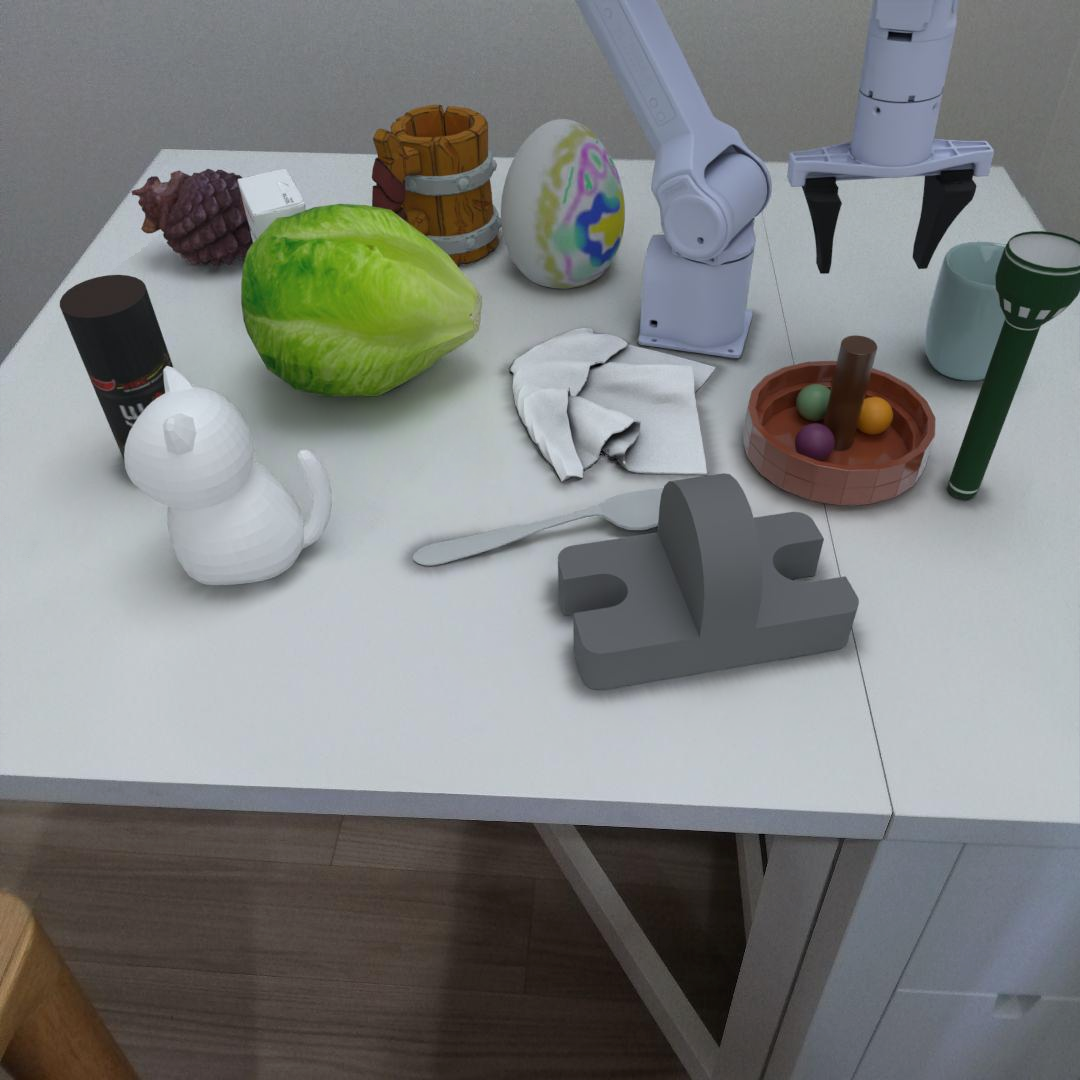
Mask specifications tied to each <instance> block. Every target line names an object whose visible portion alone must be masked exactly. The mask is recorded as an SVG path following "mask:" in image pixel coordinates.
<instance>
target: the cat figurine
mask: <svg viewBox="0 0 1080 1080" xmlns="http://www.w3.org/2000/svg"><path fill="white" fill-rule="evenodd" d="M173 367H174V366H173ZM173 367H169V366H166V367H165V369H164V370H163V372H164V386H165V394H163V395H161V396H160V397H158V398H156V399H155V400H154V401H153V402H151V403H150V404H149V405H148V406H147V407H146V408H145V409H144V411H143V412H142V413H141V415H140V416H139V417H138V418H137V420H136V422H135V423H134V425H133V427H132V428H131V430H130V432H129V435H128V438H127V441H126V444H125V451H124V459H123V462H124V461H125V462H124V469H125V471H126V473H127V476H128V478H129V479H130V481H131V482H132V483H133V485H134V486H135V487H137V488H138V489H139V490H140V491H141V492H142V493H144V494H145V496H147V497H148V498H150V499H152V500H153V501H155V502H157V503H159V504H161V505H164V506H166V507H167V517H166V519H167V520H166V522H167V530H168V535H169V539H170V543H171V545H172V548H173V551H174V553H175V556H176V558H177V561H178V562H179V564H180V566H181V567H182V569H183V570H184V571H185V573H186V574H187V575H188V576H189V577H190V578H192V579H193V580H194V581H196V582H198V583H200V584H202V585H209V586H231V585H242V584H252V583H258V582H262V581H267V580H270V579H272V578H275V577H277V576H280V575H281V574H283V573H284V572H287V571H288V569H290V568H291V567H292V566H293V565H294V564H295V562H296V560H297V559H298V557H299V556H300V554H301V552H302V550H305V549H306V548H308V547H310V546H311V545H313V544H314V543H315V542H317V541H318V539H319V538H320V537H321V536H322V534H323V533H324V531H325V529H326V528H327V525H328V522H329V520H330V516H331V512H332V511H331V510H332V498H333V497H332V495H333V494H332V493H333V491H332V485H331V484H332V483H331V480H330V478H329V477H330V476H329V473H328V472H327V471H328V470H327V469H326V467H325V466H324V464H323V462H322V460H321V459H320V458H319V457H318V456H317V455H316V454H315V453H313V452H312V451H310V450H308V449H300V450H299V451H298V452H297V454H296V455H297V456H296V460H297V463H298V466H299V467H300V469H301V471H302V474H303V475H304V477H305V479H306V481H307V483H308V485H309V488H310V491H311V492H310V493H311V499H312V500H311V509H310V512H309V515H308V517H307V520H306V522H305V523H304V522H303V514H302V510H301V509H302V508H301V506H300V505H299V502H298V501H297V499H296V497H295V495H294V494H292V492H291V491H290V490H289V489H288V488H287V486H286V485H285V484H284V483H283V482H282V481H281V480H280V478H278V477H277V476H276V475H275V474H274V473H272V471H271V470H269V469H268V468H267V467H266V466H264V465H262V464H260V463H259V462H257V461H255V452H256V450H255V444H254V439H253V436H252V433H251V430H250V427H249V426H248V424H247V423H246V421H245V419H244V417H243V416H242V415H241V413H240V411H239V410H238V409H237V408H236V407H235V406H234V404H233V403H231V402H230V401H229V400H228V399H227V398H225V397H224V396H223V395H222V394H220V393H218V392H216V391H214V390H211V389H208V388H204V387H201V386H200V387H199V386H195V385H194V383H193V382H192V381H191V380H190V379H189V378H188V377H187V376H186V375H184V374H183V373H182V372H180V371H179V370H178V369H176V368H175V367H174V368H173Z"/></svg>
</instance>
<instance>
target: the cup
mask: <svg viewBox="0 0 1080 1080" xmlns="http://www.w3.org/2000/svg"><path fill="white" fill-rule="evenodd" d="M1006 244H1007V243H1001V242H994V241H970V242H969V241H968V242H963V243H959V244H956V245H953V247H951V248H949V250H948V251H947V252H946V253H945V255H944V257H943V259H942V263H941V266H940V269H939V272H938V275H937V279H936V282H935V286H934V288H933V289H934V290H933V292H932V293H933V294H932V297H931V301H930V305H929V309H928V313H927V318H926V324H925V331H924V351H925V354H926V357H927V360H928V362H929V363H930V365H931V366H932V368H933V369H935V370H936V371H937V372H938V373H940V374H941V375H943V376H945V377H948V378H951V379H955V380H958V381H970V382H971V381H981V380H984V378H985V375H986V372H987V370H988V367H989V364H990V361H991V358H992V355H993V352H994V349H995V347H996V344H997V341H998V338H999V335H1000V332H1001V329H1002V326H1003V324H1004V321H1005V316H1004V313H1003V311H1002V309H1001V307H1000V305H999V303H998V300H997V296H996V281H995V275H996V272H997V268H998V265H999V262H1000V259H1001V256H1002V253H1003V251H1004V249H1005V247H1006Z"/></svg>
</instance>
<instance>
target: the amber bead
mask: <svg viewBox="0 0 1080 1080" xmlns="http://www.w3.org/2000/svg"><path fill="white" fill-rule="evenodd" d="M892 419H893V411H892V408H891V406H890V405H889V403H888V402H887V401H885V400H884V399H882V398H878V397H869V398H866V399H864V403H863V407H862V411H861V415H860V419H859V423H858V427H857V428H858V429H859V430H860V431H862V432H863V433H866V434H870V435H875V434H879V433H882V432H884V431H885V430H886V429H887V428H888V427H889V426H890V424H891V422H892Z"/></svg>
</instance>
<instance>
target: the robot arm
mask: <svg viewBox="0 0 1080 1080" xmlns="http://www.w3.org/2000/svg"><path fill="white" fill-rule="evenodd" d="M574 1H575V3H576V5H577V7H578V9H579V11H580V13H581V14H582V17H583V18H584V20H585V22H586V25H587V27H588V28H589V30H590V32H591V33H592V36H593V37H594V39H595V41H596V44H597V45H598V48H599V49H600V51H601V53H602V55H603V57H604V59H605V61H606V62H607V64H608V66H609V68H610V70H611V72H612V74H613V76H614V78H615V80H616V81H617V83H618V85H619V88H620V90H621V91H622V93H623V95H624V97H625V99H626V101H627V103H628V104H629V107H630V108H631V110H632V113H633V114H634V116H635V118H636V120H637V122H638V124H639V126H640V128H641V130H642V132H643V134H644V135H645V137H646V139H647V141H648V143H649V145H650V147H651V149H652V150H653V152H654V164H653V170H652V177H651V185H650V186H651V187H650V189H651V193H652V195H653V197H654V198H655V200H656V203H657V206H658V208H659V214H660V226H661V231H662V234H661V233H660V234H659V233H658V234H653V235H652V236H651V237H650V240H649V243H648V246H647V249H646V254H645V259H644V265H643V272H642V283H641V284H642V285H641V300H640V323H639V324H640V325H639V334H638V338H637V343H638V344H639V345H641V346H645V347H646V346H648V347H654V348H660V349H666V350H667V349H668V350H675V351H681V352H688V353H696V354H703V355H710V356H716V357H724V358H731V359H740V358H741V357H742V354H743V350H744V347H745V343H746V340H747V336H748V333H749V330H750V326H751V323H752V319H753V315H754V313H753V310H751V309H748V308H747V305H748V298H749V292H750V291H749V289H750V282H751V276H752V268H753V260H754V254H755V246H756V233H755V227H754V226H755V221H756V220H755V219H756V217H757V216H759V215H760V214H761V213H763V211H764V210H765V209H766V207H767V206H768V204H769V203H770V200H771V198H772V197H771V196H772V193H773V192H772V191H773V183H772V182H773V181H772V177H771V174H770V171H769V169H768V167H767V165H766V164H765V162H764V161H763V160H762V159H761V158H760V157H759V156H758V155H756V154H755V153H754V152H752V150H750V148H748V147H747V145H746V144H745V142H744V141H743V138H742V137H741V134H740V133H739V131H738V130H737V129H736V128H735V127H733V126H731V125H729V124H727V123H725V122H723V121H721V120H719V119H717V118H716V117H715V116H714V115H713V112H712V110H711V109H710V106H709V105H708V104H709V103H708V102H707V101H706V98H705V95H704V94H703V92H702V90H701V88H700V85H699V84H698V82H697V80H696V78H695V76H694V74H693V72H692V70H691V68H690V65H689V64H688V61H687V59H686V57H685V56H684V54H683V51H682V49H681V48H680V45H679V44H678V42H677V40H676V38H675V35H674V33H673V31H672V29H671V27H670V26H669V23H668V21H667V19H666V17H665V15H664V13H663V11H662V9H661V7H660V5H659V3H658V0H574ZM960 2H961V0H872V6H871V12H870V13H871V14H870V17H869V20H868V23H867V24H868V26H867V31H866V39H865V48H864V54H863V62H862V66H861V67H862V68H861V74H860V75H861V76H860V81H859V88H858V96H857V103H856V108H855V109H856V110H855V116H854V123H853V130H852V137H851V141H847V142H842V143H838V144H833V145H827V146H822V147H817V148H812V149H806V150H799V151H790V152H789V154H788V163H787V174H786V177H787V181H788V183H789V185H790V187H791V188H798V187H799V188H800V187H801V188H802V191H803V195H804V198H805V200H806V201H805V202H806V204H807V207H808V211H809V214H810V218H811V223H812V228H813V229H812V230H813V234H814V241H815V256H816V257H815V264H816V266H817V269H818V271H819V274H821V275H827V274H830V271H831V267H832V263H833V262H832V261H833V260H832V259H833V248H834V237H835V233H836V227H837V223H838V219H839V214H840V212H841V208H842V205H843V202H842V200H841V198H840V195H839V186H838V184H837V182H838V181H839V182H840V181H857V180H858V181H859V180H874V179H901V178H911V177H913V178H914V177H924V183H923V193H922V203H921V211H920V217H919V221H918V225H917V229H916V234H915V239H914V242H913V249H912V256H911V257H912V260H913V261H914V263H915V265H916V267H917V269H918V270H926V269H928V268H929V265H930V262H931V260H932V258H933V256H934V254H935V252H936V251H937V248H938V246H939V245H940V242H941V241H942V239H943V237H944V235H945V234H946V232H947V231H948V230H949V228H950V227H951V225H952V224H953V222H954V221H956V219H957V217H958V216H959V215H960V214H961V213H962V211H963V210H964V209H965V208H966V207H967V206H968V205H969V204H970V203H971V202H972V201H973V199H974V197H975V194H976V190H977V186H978V185H977V184H976V182H975V181H974V180H973V179H974V177H978V178H980V177H988V176H989V175H990V172H991V167H992V163H993V159H994V156H995V149H994V148H993V147H992V146H991V144H990V143H989V142H988V141H987V140H955V139H941V138H935V134H936V131H937V130H936V129H937V125H938V120H939V114H940V109H941V105H942V99H943V94H944V88H945V84H946V78H947V73H948V68H949V64H950V59H951V53H952V48H953V43H954V39H955V34H956V28H957V24H958V17H957V16H958V15H957V13H958V8H959V4H960Z"/></svg>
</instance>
